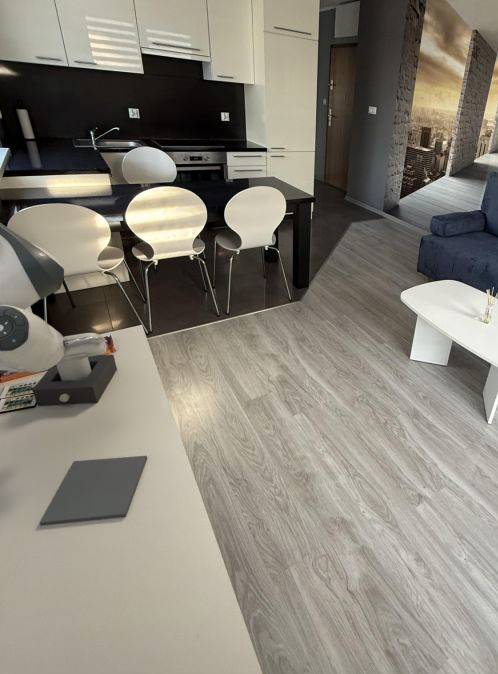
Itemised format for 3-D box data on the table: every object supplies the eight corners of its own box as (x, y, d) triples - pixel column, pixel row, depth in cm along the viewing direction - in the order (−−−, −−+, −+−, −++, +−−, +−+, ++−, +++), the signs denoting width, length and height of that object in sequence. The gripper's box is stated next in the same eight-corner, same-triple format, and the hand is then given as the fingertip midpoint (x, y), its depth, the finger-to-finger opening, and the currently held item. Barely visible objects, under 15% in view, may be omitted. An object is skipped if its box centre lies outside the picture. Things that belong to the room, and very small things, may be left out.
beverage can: (58, 391, 99) (45, 352, 94) (80, 375, 105) (68, 338, 100) (79, 397, 98) (67, 358, 93) (100, 381, 104) (90, 343, 98)
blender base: (35, 408, 94) (29, 392, 92) (64, 371, 106) (59, 356, 104) (95, 405, 96) (91, 389, 94) (117, 369, 109) (113, 354, 106)
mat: (40, 525, 71) (39, 522, 70) (74, 463, 82) (73, 461, 82) (125, 516, 73) (125, 513, 73) (147, 458, 84) (146, 455, 84)
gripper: (98, 321, 79) (110, 336, 91) (-37, 342, 70) (-4, 355, 82) (101, 352, 78) (113, 363, 90) (-36, 377, 69) (-2, 385, 81)
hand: (56, 359), depth 86 cm, fingers open, 8 cm apart
